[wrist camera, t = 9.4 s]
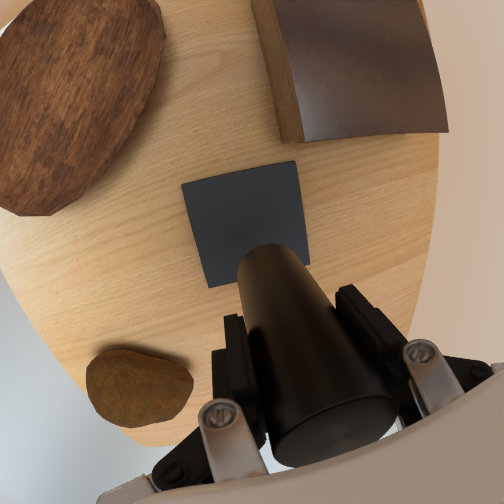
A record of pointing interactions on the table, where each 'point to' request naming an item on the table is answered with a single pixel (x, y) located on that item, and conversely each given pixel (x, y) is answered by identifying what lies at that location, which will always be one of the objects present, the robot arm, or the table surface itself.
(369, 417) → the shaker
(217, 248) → the mat
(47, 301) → the table surface
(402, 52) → the cabinet
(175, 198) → the table surface
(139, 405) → the potato
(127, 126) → the bowl
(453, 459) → the robot arm
